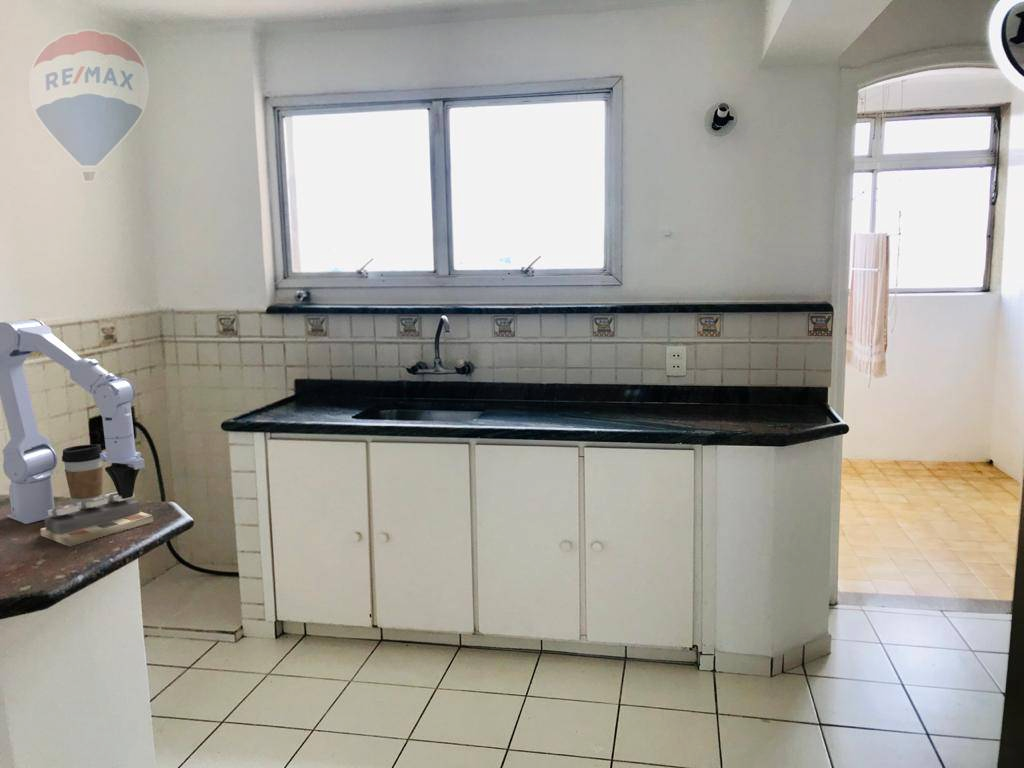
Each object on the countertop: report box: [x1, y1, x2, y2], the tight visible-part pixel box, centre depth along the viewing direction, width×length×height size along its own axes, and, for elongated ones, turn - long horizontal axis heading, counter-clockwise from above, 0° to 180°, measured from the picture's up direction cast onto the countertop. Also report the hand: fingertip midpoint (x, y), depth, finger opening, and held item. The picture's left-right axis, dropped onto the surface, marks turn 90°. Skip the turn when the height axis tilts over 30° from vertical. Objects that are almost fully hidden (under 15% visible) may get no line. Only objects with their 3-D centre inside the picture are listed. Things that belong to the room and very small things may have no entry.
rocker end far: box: [103, 491, 136, 502], centre depth 181 cm, size 6×4×2 cm, turn 54°
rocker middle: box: [77, 496, 109, 510], centre depth 176 cm, size 6×4×2 cm, turn 54°
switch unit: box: [39, 498, 154, 547], centre depth 175 cm, size 12×18×4 cm, turn 144°
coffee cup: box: [61, 443, 104, 509], centre depth 188 cm, size 8×8×15 cm
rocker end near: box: [48, 503, 80, 517], centre depth 171 cm, size 6×4×2 cm, turn 54°
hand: (126, 497), depth 179 cm, fingers closed, pressing on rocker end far
